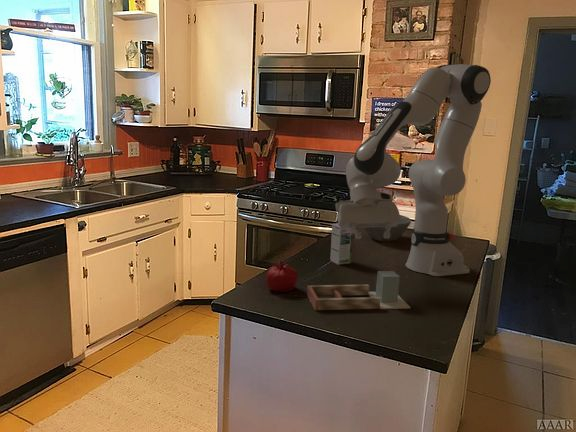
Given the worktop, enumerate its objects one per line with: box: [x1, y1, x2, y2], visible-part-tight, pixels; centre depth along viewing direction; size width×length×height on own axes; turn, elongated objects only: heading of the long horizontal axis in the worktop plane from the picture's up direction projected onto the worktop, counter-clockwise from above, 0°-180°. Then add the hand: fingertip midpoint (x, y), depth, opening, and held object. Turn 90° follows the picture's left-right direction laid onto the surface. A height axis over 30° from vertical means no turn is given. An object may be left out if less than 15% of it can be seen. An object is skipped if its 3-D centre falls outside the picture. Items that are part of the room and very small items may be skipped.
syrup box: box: [330, 222, 354, 266], centre depth 177 cm, size 6×6×14 cm
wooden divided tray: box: [311, 283, 381, 311], centre depth 142 cm, size 18×11×3 cm, turn 99°
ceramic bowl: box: [363, 214, 412, 243], centre depth 212 cm, size 22×23×10 cm
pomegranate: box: [265, 260, 299, 293], centre depth 149 cm, size 10×10×9 cm
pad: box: [367, 291, 411, 310], centre depth 144 cm, size 9×12×1 cm
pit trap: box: [306, 284, 343, 311], centre depth 141 cm, size 9×11×3 cm
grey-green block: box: [375, 270, 401, 303], centre depth 143 cm, size 5×5×8 cm
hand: (373, 237), depth 151 cm, fingers open, 8 cm apart
